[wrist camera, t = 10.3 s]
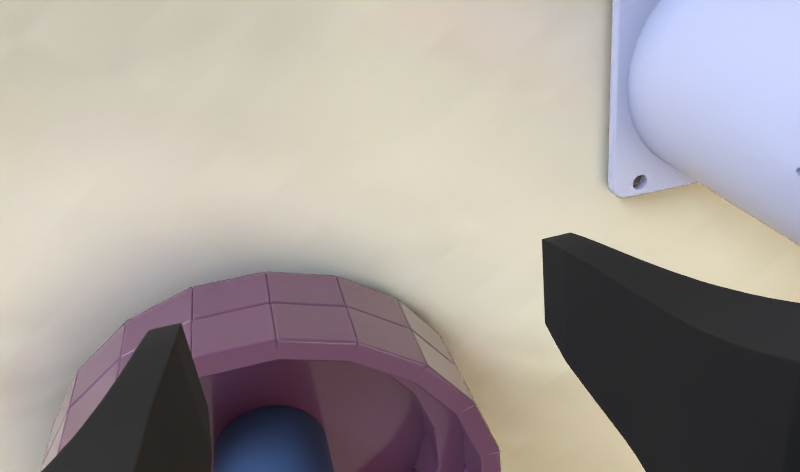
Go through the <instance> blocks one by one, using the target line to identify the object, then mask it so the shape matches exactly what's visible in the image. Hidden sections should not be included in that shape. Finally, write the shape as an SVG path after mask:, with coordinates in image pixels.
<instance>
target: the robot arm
mask: <svg viewBox="0 0 800 472" xmlns="http://www.w3.org/2000/svg"><path fill="white" fill-rule="evenodd" d="M640 175H641V179H640V181H639V182H638V183H637V184H635V185H633V182H634V180H635V178H636V177H638V176H640ZM693 183H700V184H702V185H703V186H705V187H706V188H708V189H709V190H711V191H713V192H714V193H716V194H717V195H719V196H721V197H722V198H724V199H725V200H727V201H729V202H730V203H732V204H733V205H735V206H736V207H738V208H740V209H741V210H743V211H744V212H746V213H748V214H749V215H751V216H752V217H754V218H756V219H757V220H759V221H760V222H762V223H764V224H765V225H767V226H768V227H770V228H771V229H773V230H775V231H776V232H778V233H779V234H781V235H783V236H784V237H786V238H787V239H789V240H791V241H792V242H794V243H795V244H797V245H798V246H800V0H613V3H612V44H611V85H610V126H609V167H608V187H609V190H610V191H611V192H612V193H613V194H614V195H615V196H617V197H619V198H628V197H632V196H637V195H642V194H646V193H651V192H656V191H660V190H665V189H670V188H674V187H679V186H684V185H688V184H693ZM542 251H543V279H544V306H545V324H546V326H547V328H548V329H549V331H550V333H551V335H552V337H553V339H554V341H555V343H556V345H557V346H558V348H559V350H560V352H561V353H562V355H563V357H564V359H565V360H566V362H567V363H568V365H569V366H570V368H571V369H572V370H573V372H574V373H575V374H576V376H577V377H578V378H579V380H580V381H581V382H582V384H583V385H584V386H585V388H586V389H587V390H588V392H589V393H590V394H591V396H592V397H593V398H594V400H595V401H596V402H597V403H598V405H599V406H600V407H601V409H602V410H603V411H604V413H605V414H606V415H607V417H608V418H609V419H610V421H611V422H612V423H613V424H614V426H615V427H616V428H617V430H618V431H619V432H620V434H621V435H622V436H623V438H624V439H625V440H626V442H627V443H628V445H629V446H630V448H631V449H632V450H633V452H634V453H635V455H636V456H637V458H638V459H639V461H640V463H641V464H642V466H643V468H644V469H645V471H646V472H800V303H795V302H790V301H784V300H778V299H772V298H767V297H762V296H757V295H752V294H748V293H744V292H740V291H736V290H732V289H728V288H724V287H720V286H716V285H713V284H709V283H706V282H702V281H699V280H696V279H693V278H690V277H687V276H684V275H681V274H678V273H675V272H672V271H669V270H666V269H664V268H661V267H658V266H656V265H653V264H650V263H648V262H645V261H643V260H640V259H638V258H635V257H632V256H630V255H628V254H625V253H623V252H620V251H618V250H615V249H613V248H610V247H608V246H605V245H603V244H601V243H598V242H595V241H593V240H590V239H588V238H585V237H582V236H579V235H576V234H573V233H567V234H563V235H558V236H554V237H550V238H545V239H542ZM211 468H212V445H211V433H210V422H209V411H208V405H207V402H206V399H205V396H204V393H203V389H202V386H201V383H200V380H199V377H198V374H197V371H196V367H195V364H194V361H193V358H192V355H191V352H190V348H189V345H188V342H187V339H186V336H185V333H184V330H183V326H182V323H177V324H173V325H168V326H164V327H160V328H155V329H151V330H148V331H147V333H146V334H145V336H144V337H143V339H142V340H141V342H140V343H139V345H138V346H137V348H136V349H135V351H134V352H133V354H132V356H131V357H130V359H129V360H128V362H127V363H126V365H125V367H124V368H123V370H122V371H121V373H120V374H119V376H118V377H117V379H116V380H115V382H114V383H113V385H112V386H111V387H110V389H109V390H108V392H107V393H106V395H105V396H104V398H103V399H102V401H101V402H100V403H99V405H98V406H97V407H96V409H95V410H94V411H93V412H92V414H91V415H90V416H89V418H88V419H87V420H86V422H85V423H84V424H83V425H82V427H81V428H80V429H79V431H78V432H77V433H76V434H75V435H74V437H73V438H72V439H71V440H70V441H69V442H68V443H67V445H66V446H65V447H64V448H63V449H62V450H61V451H60V452H59V453H58V454H57V455H56V457H55V458H54V459H53V460H52V461H51V462H50V463H49V464H48V465H47V466H46V467H45V468H44V469H43V470H42V471H41V472H211Z"/></svg>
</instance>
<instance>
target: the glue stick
mask: <svg viewBox="0 0 800 472" xmlns="http://www.w3.org/2000/svg"><path fill="white" fill-rule="evenodd" d="M214 472H334V469H333V464H332V460H331V455H330V451H329V446H328V442H327V438H326V434H325V431H324V429H323V428H322V426H321V425H320V423H319V422H318V421H317V420H316V419H315V418H313V417H312V416H311V415H309V414H308V413H306V412H304V411H301V410H299V409H295V408H291V407H284V406H271V407H264V408H260V409H256V410H253V411H250V412H248V413H246V414H244V415H242V416H240V417H239V418H237V419H236V420H234V421H233V422H232V423H231V424H230V425H228V426H227V427H226V428H225V430H224V431H223V432H222V434H221V435H220V437H219V438H218V440H217V443H216V445H215V449H214Z"/></svg>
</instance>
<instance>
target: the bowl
mask: <svg viewBox="0 0 800 472" xmlns="http://www.w3.org/2000/svg"><path fill="white" fill-rule="evenodd" d="M177 323H182V326H183V330H184V333H185V336H186V339H187V342H188V345H189V348H190V352H191V355H192V358H193V361H194V364H195V367H196V371H197V374H198V377H199V380H200V383H201V386H202V389H203V393H204V396H205V399H206V402H207V405H208V411H209V422H210V433H211V445H212V468H211V472H214V449H215V445H216V443H217V440H218V438H219V437H220V435H221V434H222V432H223V431H224V430H225V428H226V427H227V426H228V425H230V424H231V423H232V422H233V421H234V420H236V419H237V418H239V417H240V416H242V415H244V414H246V413H248V412H250V411H253V410H256V409H260V408H264V407H271V406H284V407H291V408H295V409H299V410H301V411H304V412H306V413H308V414H309V415H311V416H312V417H313V418H315V419H316V420H317V421H318V422H319V423H320V425H321V426H322V428H323V429H324V431H325V434H326V438H327V442H328V446H329V451H330V455H331V460H332V464H333V469H334V472H501V464H500V450H499V447H498V445H497V443H496V441H495V439H494V437H493V435H492V433H491V431H490V429H489V427H488V425H487V423H486V422H485V420H484V418H483V416H482V414H481V412H480V410H479V408H478V406H477V404H476V402H475V400H474V398H473V396H472V394H471V393H470V391H469V389H468V387H467V385H466V383H465V381H464V379H463V377H462V375H461V373H460V371H459V370H458V368H457V366H456V364H455V362H454V360H453V358H452V356H451V355H450V353H449V351H448V349H447V347H446V345H445V343H444V341H443V339H442V338H441V336H440V335H439V334H438V332H436V331H435V330H434V329H433V328H432V327H430V326H429V325H428V324H427V323H426V322H424V321H423V320H422V319H421V318H420V317H418V316H417V315H416V314H415V313H414V312H412V311H411V310H410V309H409V308H408V307H406V306H405V305H404V304H403V303H402V302H401V301H399V300H398V299H396V298H395V297H392V296H389V295H387V294H384V293H381V292H379V291H376V290H373V289H371V288H368V287H365V286H363V285H360V284H357V283H355V282H352V281H349V280H347V279H344V278H341V277H339V276H337V277H335V276H330V275H314V274H298V273H282V272H266V273H265V272H261V273H256V274H251V275H247V276H242V277H237V278H233V279H228V280H223V281H219V282H214V283H209V284H205V285H200V286H195V287H193V288H192V287H190V288H188V289H187V290H185V291H183V292H181V293H179V294H177V295H175V296H173V297H171V298H169V299H168V300H166V301H164V302H162V303H160V304H158V305H156V306H154V307H152V308H150V309H149V310H147V311H145V312H143V313H141V314H139V315H137V316H135V317H133V318H131V319H130V320H128V321H127V322H126V323H124V324H123V325H122V326H121V327H120V328H119V329H118V330H117V331H116V332H115V333H114V335H113V336H112V337H111V338H110V339H109V340H108V341H107V342H106V343H105V344H104V345H103V346H102V347H101V348H100V349H99V350H98V351H97V352H96V353H95V354H94V355H93V356H92V357H91V358H90V359H89V360H88V361H87V362H86V363H85V364H84V365H83V366H82V367H81V368H80V369H79V370H78V371H77V373H76V375H75V377H74V379H73V382H72V384H71V386H70V388H69V390H68V392H67V395H66V397H65V399H64V401H63V403H62V406H61V408H60V410H59V412H58V414H57V417H56V419H55V421H54V423H53V426H52V430H51V434H50V438H49V441H48V445H47V449H46V453H45V457H44V460H43V465H42V468H41V471H42V470H43V469H44V468H45V467H46V466H47V465H48V464H49V463H50V462H51V461H52V460H53V459H54V458H55V457H56V455H57V454H58V453H59V452H60V451H61V450H62V449H63V448H64V447H65V446H66V445H67V443H68V442H69V441H70V440H71V439H72V438H73V437H74V435H75V434H76V433H77V432H78V431H79V429H80V428H81V427H82V425H83V424H84V423H85V422H86V420H87V419H88V418H89V416H90V415H91V414H92V412H93V411H94V410H95V409H96V407H97V406H98V405H99V403H100V402H101V401H102V399H103V398H104V396H105V395H106V393H107V392H108V390H109V389H110V387H111V386H112V385H113V383H114V382H115V380H116V379H117V377H118V376H119V374H120V373H121V371H122V370H123V368H124V367H125V365H126V363H127V362H128V360H129V359H130V357H131V356H132V354H133V352H134V351H135V349H136V348H137V346H138V345H139V343H140V342H141V340H142V339H143V337H144V336H145V334H146V333H147V331H148V330H151V329H155V328H160V327H164V326H168V325H173V324H177Z"/></svg>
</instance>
